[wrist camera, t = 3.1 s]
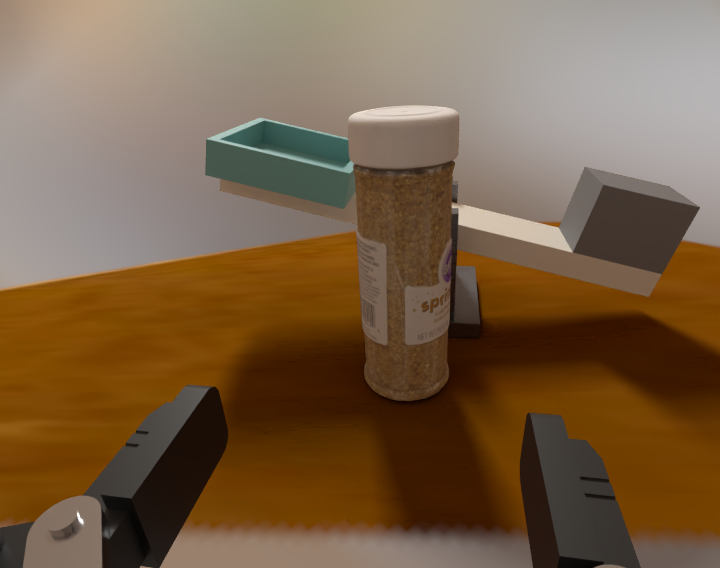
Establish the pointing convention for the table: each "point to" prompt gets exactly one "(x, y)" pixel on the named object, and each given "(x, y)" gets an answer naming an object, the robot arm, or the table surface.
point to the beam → (475, 226)
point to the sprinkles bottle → (404, 244)
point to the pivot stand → (462, 288)
